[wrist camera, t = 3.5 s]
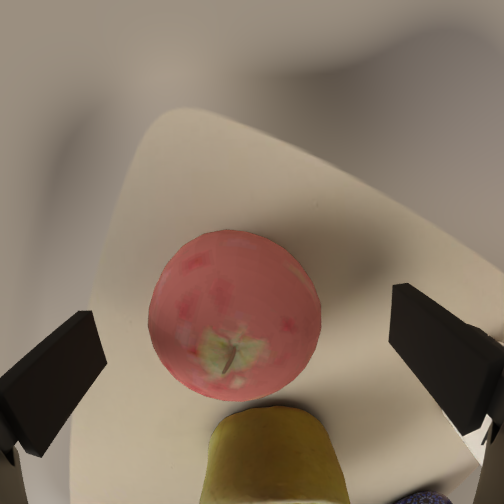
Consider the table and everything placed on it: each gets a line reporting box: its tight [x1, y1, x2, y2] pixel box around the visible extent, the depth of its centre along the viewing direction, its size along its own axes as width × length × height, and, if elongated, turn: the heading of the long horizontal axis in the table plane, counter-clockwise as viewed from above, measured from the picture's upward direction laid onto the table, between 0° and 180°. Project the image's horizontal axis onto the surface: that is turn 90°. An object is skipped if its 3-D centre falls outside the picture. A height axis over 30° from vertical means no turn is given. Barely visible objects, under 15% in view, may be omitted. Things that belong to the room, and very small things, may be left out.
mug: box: [200, 406, 350, 504], centre depth 17 cm, size 12×10×10 cm
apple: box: [148, 229, 321, 402], centre depth 13 cm, size 7×7×8 cm
